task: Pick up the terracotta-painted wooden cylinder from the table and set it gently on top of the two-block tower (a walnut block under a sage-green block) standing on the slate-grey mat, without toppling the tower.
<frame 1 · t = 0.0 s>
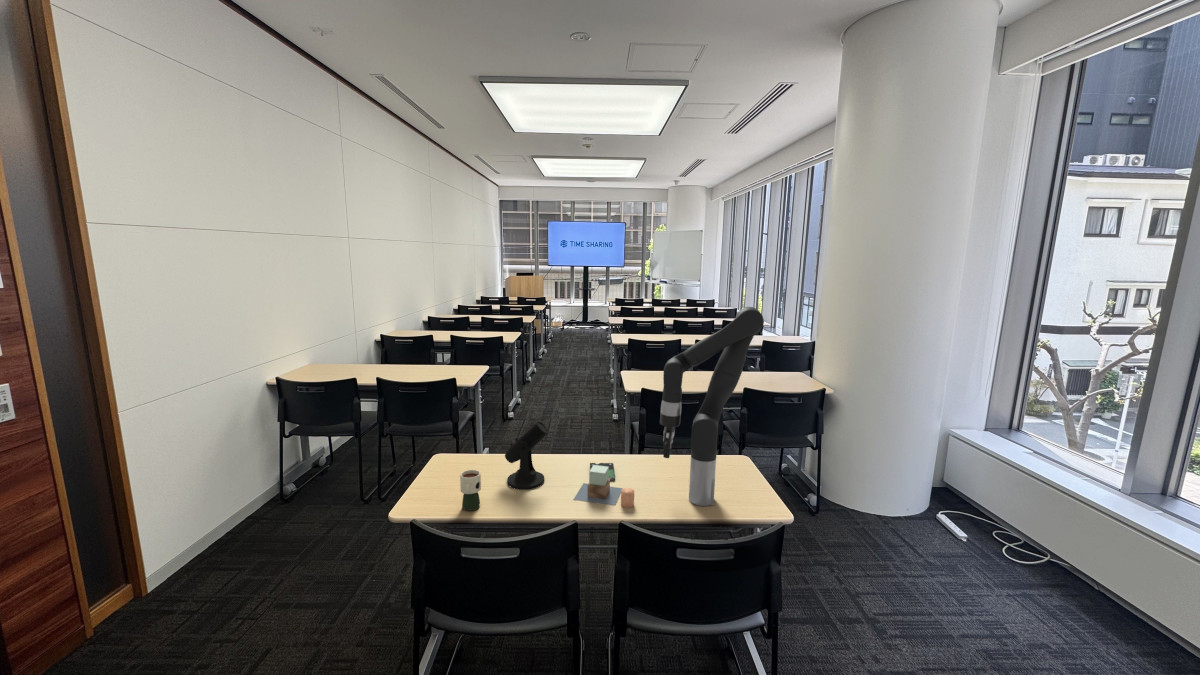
hand: (667, 453, 183), 17 cm above the table, tool pointing down, fingers open, 8 cm apart
sage block: (598, 481, 184), point 6 cm above the table, touching walnut block
slate mat: (598, 495, 185), on the table
character mug: (471, 508, 174), on the table
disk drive: (602, 476, 203), on the table
walnut block: (598, 493, 185), point 1 cm above the table, touching sage block, slate mat
microphone: (526, 481, 196), on the table
terracotta cylinder: (627, 506, 177), on the table
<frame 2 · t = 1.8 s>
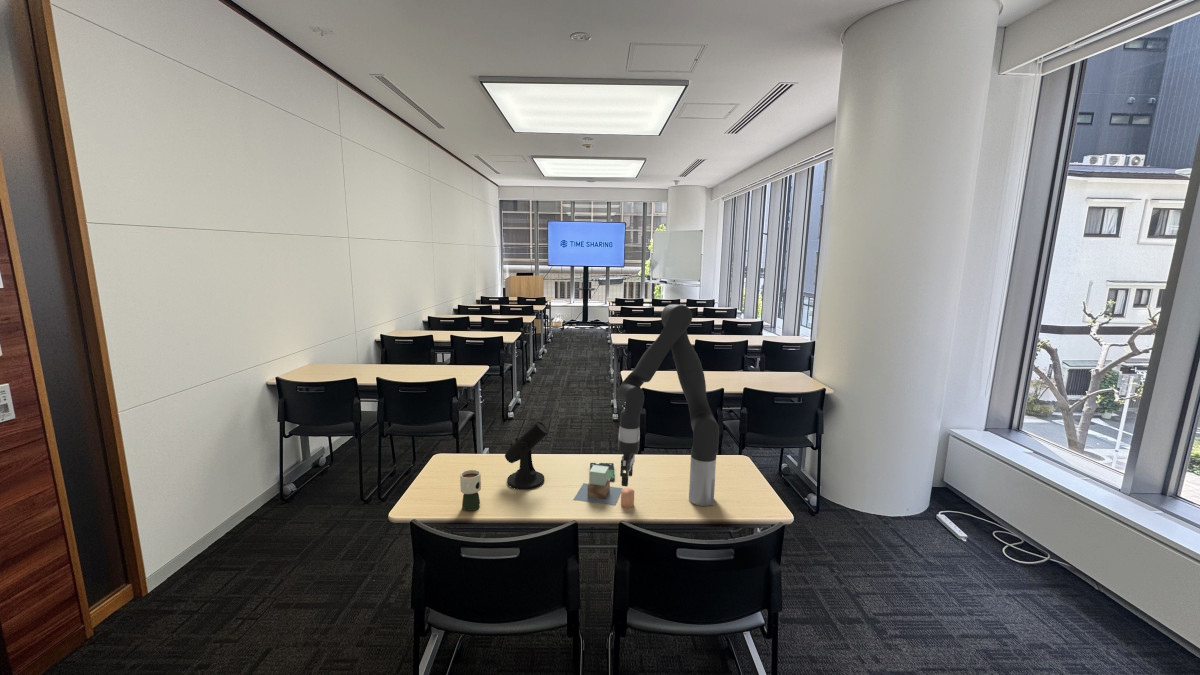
hand: (626, 480, 176), 10 cm above the table, tool pointing down, fingers open, 8 cm apart
nothing on the table moved.
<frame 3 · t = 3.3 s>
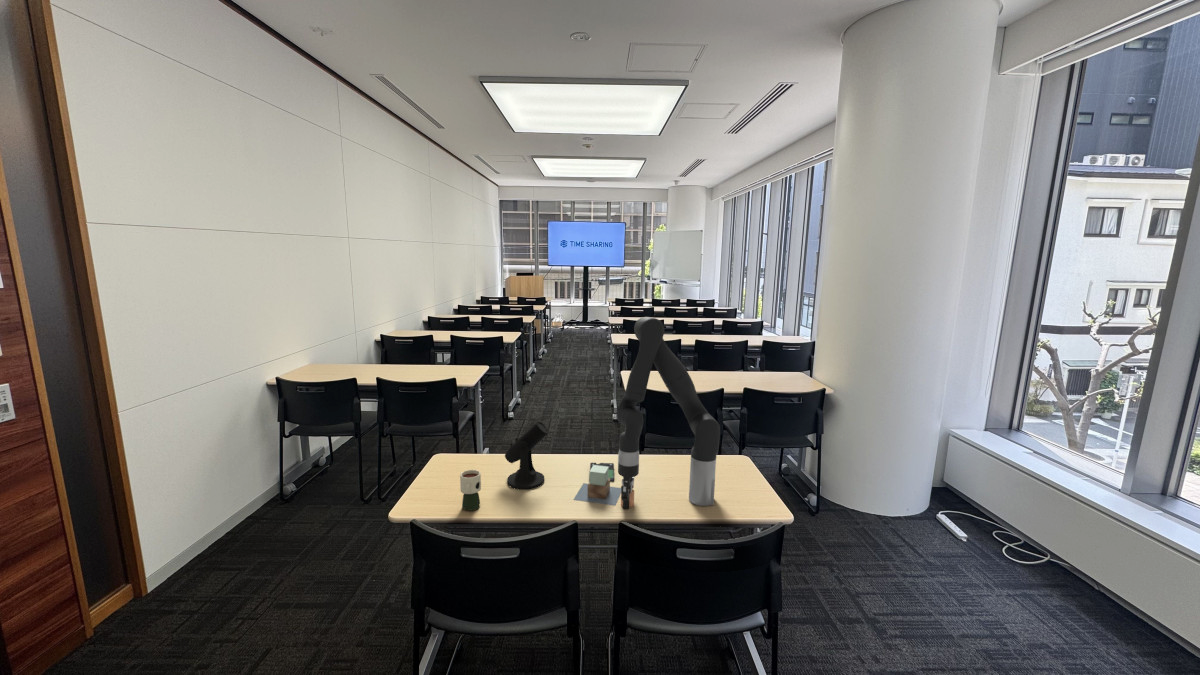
hand: (627, 504, 177), 1 cm above the table, tool pointing down, fingers closed on terracotta cylinder, 5 cm apart
terracotta cylinder: (627, 506, 177), on the table, touching gripper
everything else where it was.
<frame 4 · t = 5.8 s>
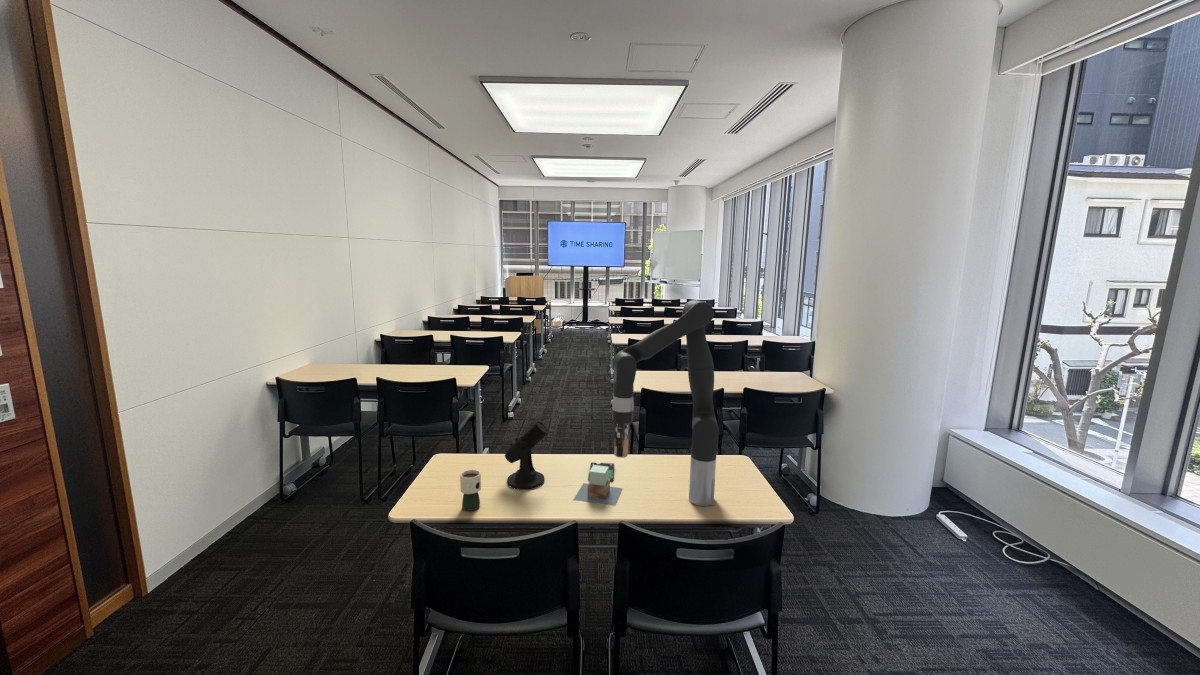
hand: (621, 453, 176), 20 cm above the table, tool pointing down, fingers closed on terracotta cylinder, 4 cm apart
terracotta cylinder: (620, 454, 176), point 19 cm above the table, touching gripper
everything else where it was.
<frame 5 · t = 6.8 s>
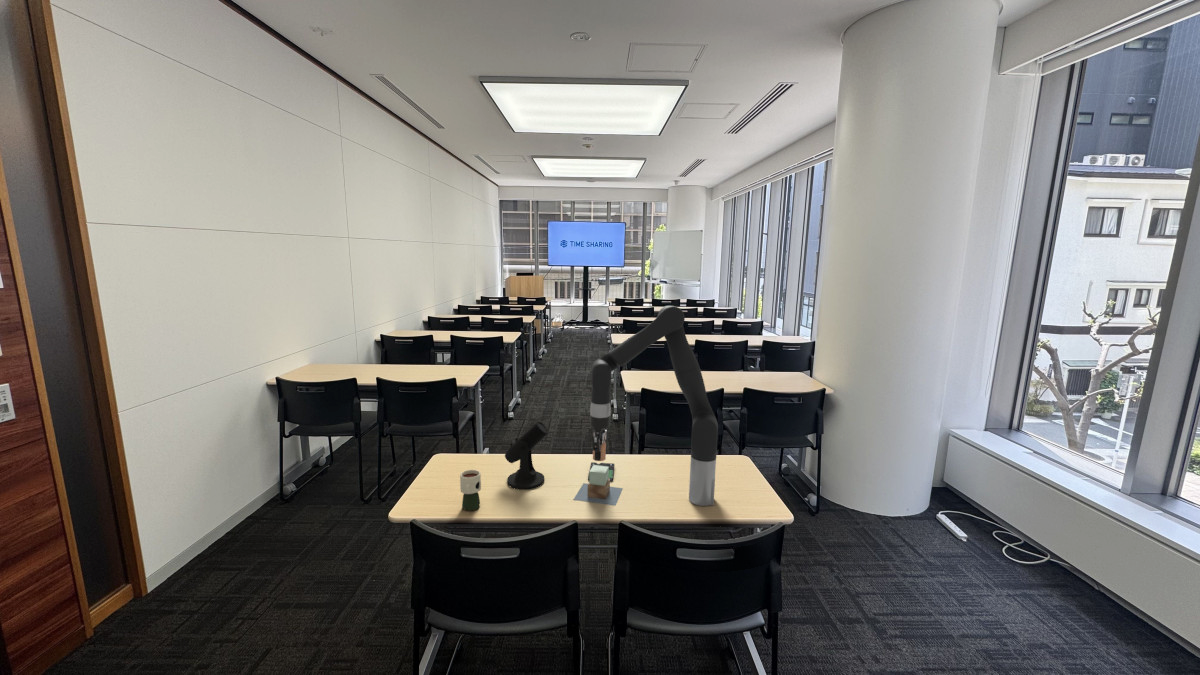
hand: (599, 457, 182), 16 cm above the table, tool pointing down, fingers closed on terracotta cylinder, 4 cm apart
terracotta cylinder: (599, 458, 182), point 15 cm above the table, touching gripper
everything else where it was.
when the fingers open (12 cm above the table, at t = 7.9 s): terracotta cylinder stays where it is, resting on sage block.
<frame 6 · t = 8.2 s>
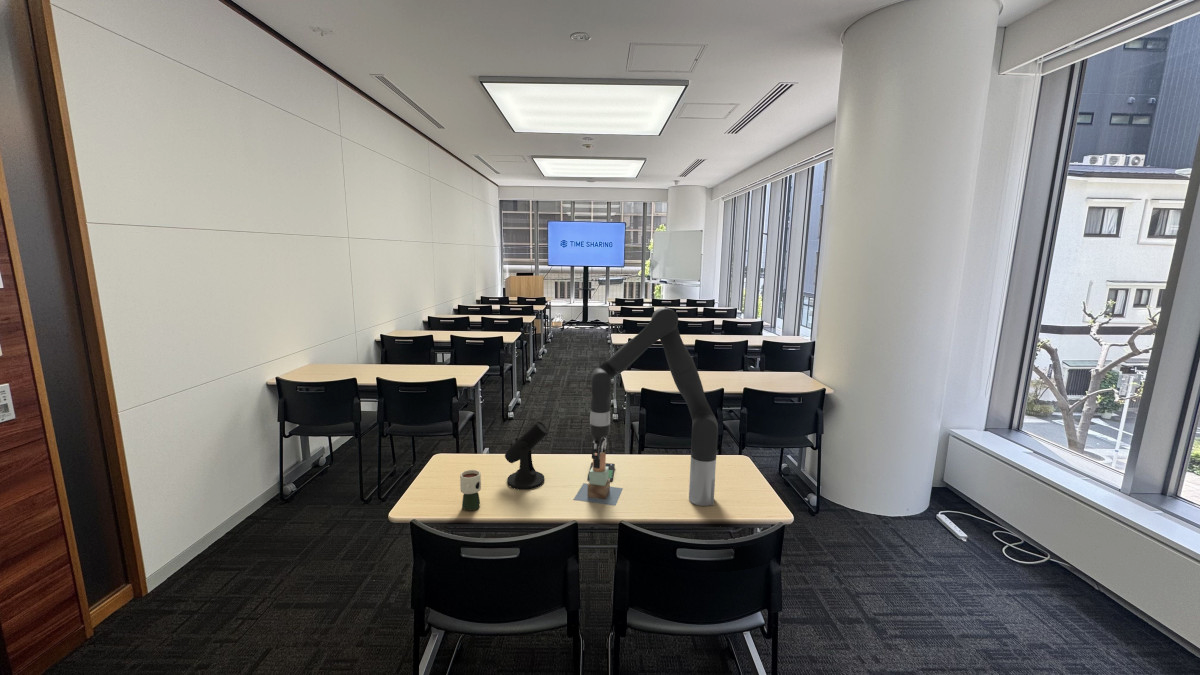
hand: (599, 463, 183), 13 cm above the table, tool pointing down, fingers open, 7 cm apart
sage block: (598, 481, 184), point 6 cm above the table, touching terracotta cylinder, walnut block
terracotta cylinder: (599, 469, 183), point 11 cm above the table, touching sage block
everything else where it was.
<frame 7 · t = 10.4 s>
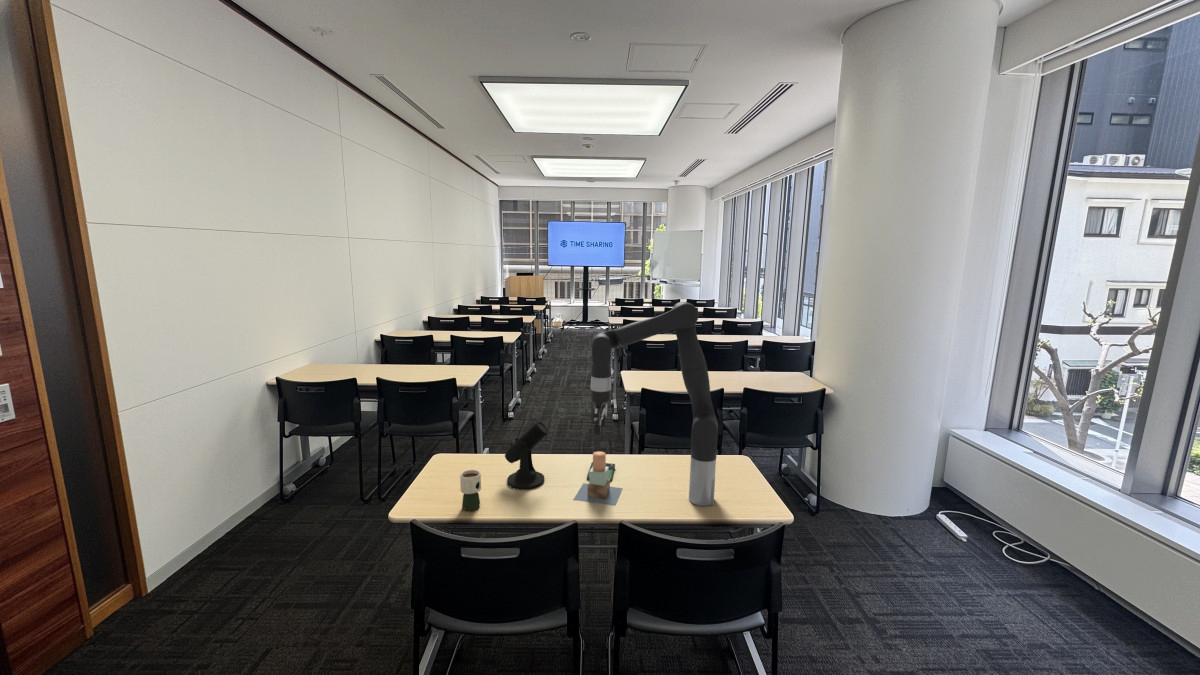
hand: (600, 430, 181), 26 cm above the table, tool pointing down, fingers open, 8 cm apart
nothing on the table moved.
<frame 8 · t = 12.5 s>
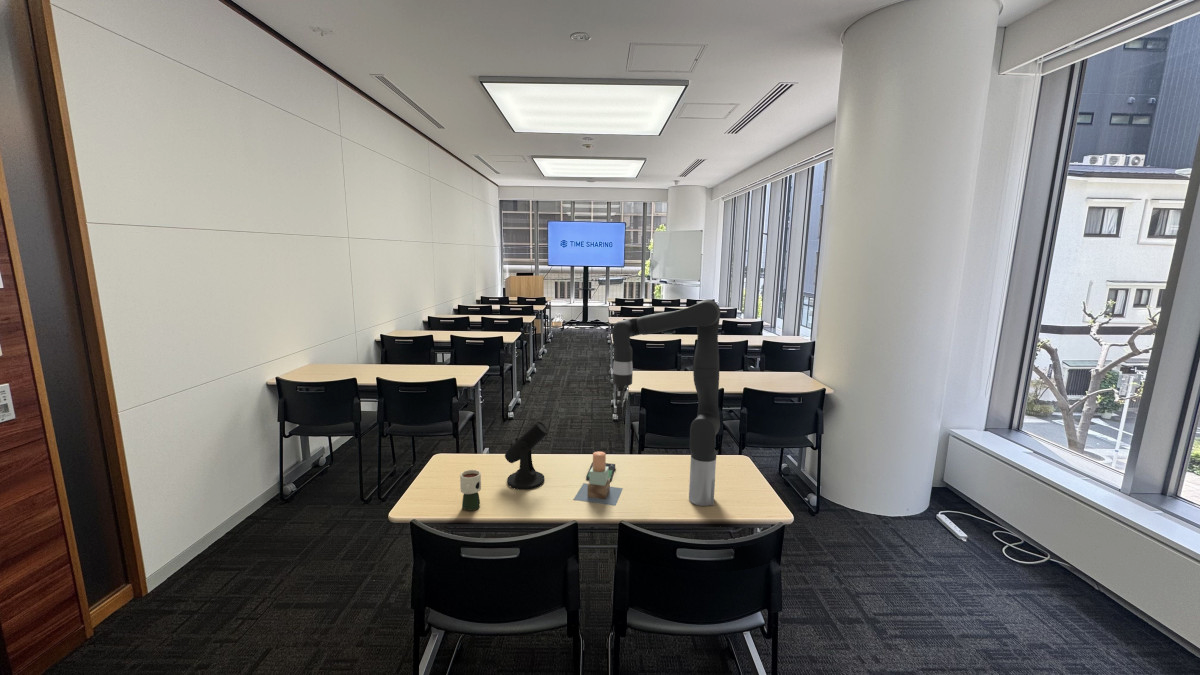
hand: (621, 412, 189), 30 cm above the table, tool pointing down, fingers open, 8 cm apart
nothing on the table moved.
at the end: terracotta cylinder 0.1 cm off-centre on the walnut block, point 10.0 cm above the walnut block's base; sage block tilted 0°; the gripper is holding nothing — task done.
